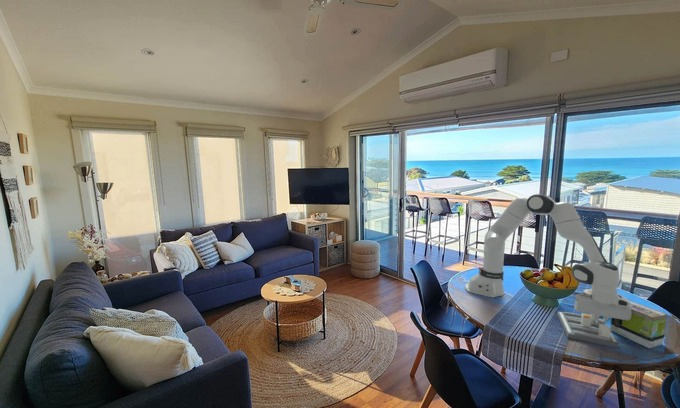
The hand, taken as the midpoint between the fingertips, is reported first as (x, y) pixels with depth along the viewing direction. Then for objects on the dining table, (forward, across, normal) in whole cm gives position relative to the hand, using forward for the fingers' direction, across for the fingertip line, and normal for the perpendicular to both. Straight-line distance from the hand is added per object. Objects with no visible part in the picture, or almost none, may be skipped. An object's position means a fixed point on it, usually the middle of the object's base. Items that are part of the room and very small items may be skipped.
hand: (599, 323), depth 139 cm
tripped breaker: (+2, -5, 0) cm, 6 cm away
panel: (+4, -5, 0) cm, 7 cm away
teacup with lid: (+5, +5, +28) cm, 29 cm away
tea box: (+5, +14, +2) cm, 15 cm away
